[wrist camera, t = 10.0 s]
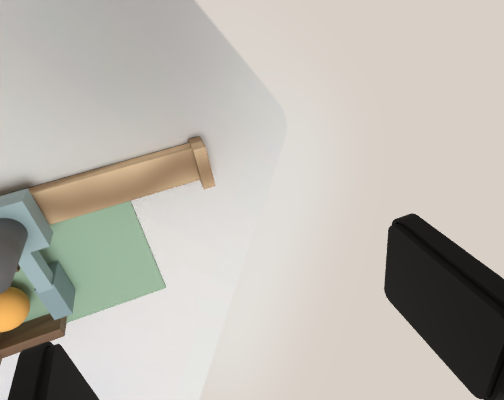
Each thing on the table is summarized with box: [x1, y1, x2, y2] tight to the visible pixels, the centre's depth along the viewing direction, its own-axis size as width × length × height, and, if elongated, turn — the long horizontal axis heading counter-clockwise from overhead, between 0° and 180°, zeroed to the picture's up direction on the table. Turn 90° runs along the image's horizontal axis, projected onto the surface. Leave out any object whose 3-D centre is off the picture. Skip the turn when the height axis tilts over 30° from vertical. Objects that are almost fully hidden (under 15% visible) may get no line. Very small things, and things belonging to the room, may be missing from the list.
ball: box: [0, 287, 30, 332], centre depth 37 cm, size 4×4×4 cm
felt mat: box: [10, 201, 166, 323], centre depth 39 cm, size 13×20×1 cm, turn 100°
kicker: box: [0, 188, 76, 320], centre depth 33 cm, size 14×5×10 cm, turn 9°
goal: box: [0, 264, 67, 364], centre depth 36 cm, size 11×8×5 cm
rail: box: [2, 136, 215, 225], centre depth 35 cm, size 4×23×3 cm, turn 100°
